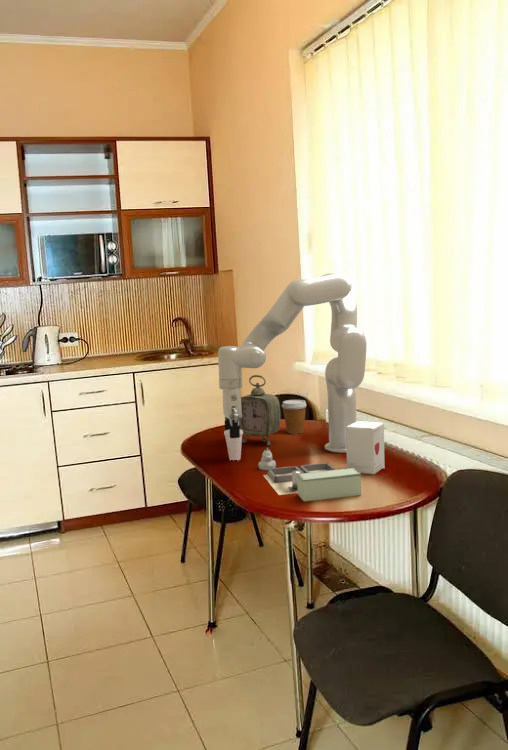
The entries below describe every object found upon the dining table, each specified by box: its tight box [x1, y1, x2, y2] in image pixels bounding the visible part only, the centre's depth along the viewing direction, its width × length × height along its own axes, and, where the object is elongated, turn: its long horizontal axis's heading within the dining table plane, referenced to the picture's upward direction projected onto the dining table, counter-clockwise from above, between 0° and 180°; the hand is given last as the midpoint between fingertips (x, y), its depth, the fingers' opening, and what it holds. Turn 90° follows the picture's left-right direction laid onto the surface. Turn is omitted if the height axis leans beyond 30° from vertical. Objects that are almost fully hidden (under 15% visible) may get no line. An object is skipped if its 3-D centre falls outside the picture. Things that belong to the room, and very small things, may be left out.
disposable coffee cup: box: [281, 399, 308, 435], centre depth 270 cm, size 10×10×12 cm
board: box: [262, 469, 328, 496], centre depth 204 cm, size 22×20×1 cm
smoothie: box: [223, 429, 244, 462], centre depth 235 cm, size 6×6×14 cm
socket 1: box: [267, 465, 303, 483], centre depth 208 cm, size 9×9×2 cm
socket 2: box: [299, 462, 337, 473], centre depth 210 cm, size 9×9×2 cm
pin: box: [292, 470, 300, 490], centre depth 196 cm, size 2×2×5 cm
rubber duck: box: [258, 447, 277, 471], centre depth 219 cm, size 5×7×8 cm
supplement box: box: [346, 420, 385, 475], centre depth 212 cm, size 9×9×15 cm
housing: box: [297, 468, 362, 502], centre depth 190 cm, size 16×6×7 cm, turn 102°
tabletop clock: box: [238, 374, 281, 447], centre depth 255 cm, size 14×9×25 cm, turn 56°
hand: (232, 434), depth 234 cm, fingers open, 9 cm apart
